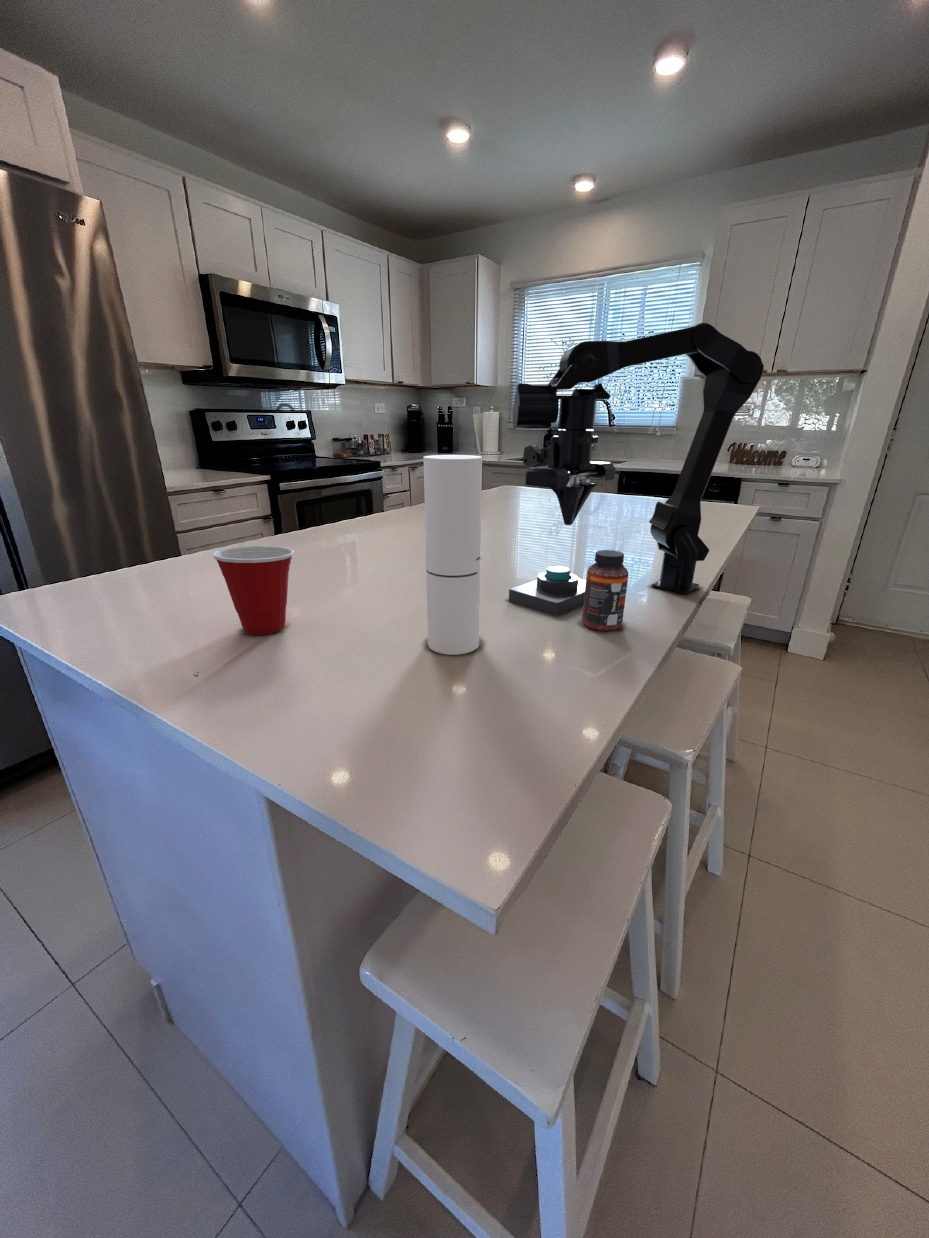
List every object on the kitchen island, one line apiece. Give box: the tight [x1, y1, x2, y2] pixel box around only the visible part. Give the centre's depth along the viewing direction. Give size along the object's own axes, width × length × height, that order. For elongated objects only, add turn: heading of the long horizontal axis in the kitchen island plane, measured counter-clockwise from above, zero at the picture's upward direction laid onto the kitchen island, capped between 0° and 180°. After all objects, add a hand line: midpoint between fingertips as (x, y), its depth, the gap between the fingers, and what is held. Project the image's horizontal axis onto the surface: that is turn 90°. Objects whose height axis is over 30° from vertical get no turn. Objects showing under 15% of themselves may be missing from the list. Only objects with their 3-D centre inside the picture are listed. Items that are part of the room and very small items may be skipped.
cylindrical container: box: [423, 454, 483, 656], centre depth 66 cm, size 7×7×25 cm
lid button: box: [545, 565, 571, 581], centre depth 87 cm, size 4×4×2 cm
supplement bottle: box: [581, 549, 629, 632], centre depth 76 cm, size 6×6×11 cm
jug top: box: [508, 571, 586, 617], centre depth 88 cm, size 14×10×4 cm
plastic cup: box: [212, 545, 296, 636], centre depth 74 cm, size 11×11×12 cm
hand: (568, 524), depth 89 cm, fingers closed
